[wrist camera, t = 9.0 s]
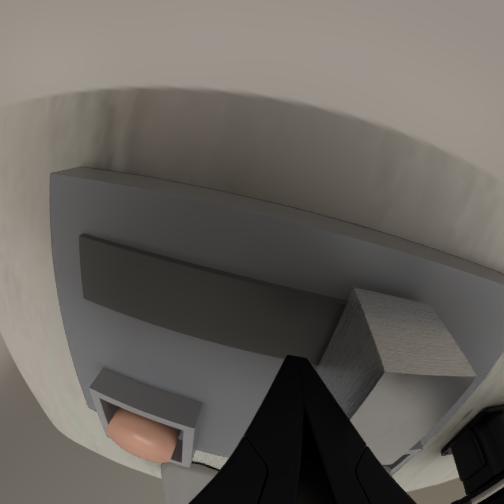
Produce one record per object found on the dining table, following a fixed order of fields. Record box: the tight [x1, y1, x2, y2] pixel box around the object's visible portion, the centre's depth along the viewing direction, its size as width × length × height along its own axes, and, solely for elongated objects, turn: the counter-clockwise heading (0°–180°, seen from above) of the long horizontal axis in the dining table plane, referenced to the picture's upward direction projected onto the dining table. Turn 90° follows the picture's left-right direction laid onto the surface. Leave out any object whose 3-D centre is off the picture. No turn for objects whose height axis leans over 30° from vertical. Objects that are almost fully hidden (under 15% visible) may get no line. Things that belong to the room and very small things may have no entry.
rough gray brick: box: [316, 287, 477, 465], centre depth 7 cm, size 3×4×4 cm
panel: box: [50, 167, 504, 474], centre depth 11 cm, size 22×15×4 cm
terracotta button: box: [106, 407, 181, 463], centre depth 12 cm, size 4×4×2 cm
